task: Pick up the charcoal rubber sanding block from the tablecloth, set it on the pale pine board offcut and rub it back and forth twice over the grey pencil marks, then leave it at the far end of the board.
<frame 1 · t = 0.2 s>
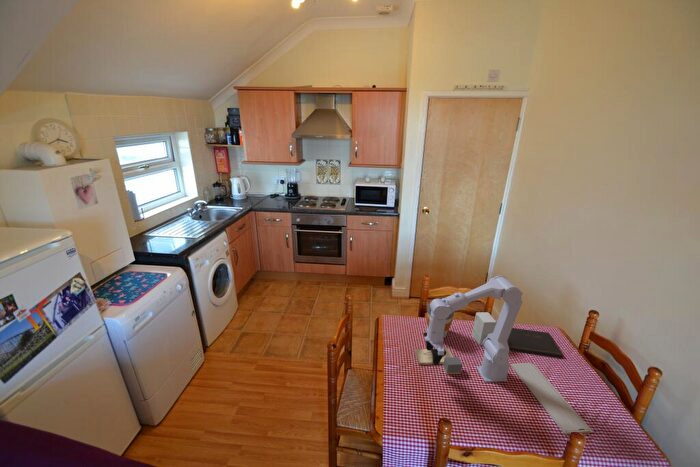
hand: (432, 356, 120), 10 cm above the table, tool pointing down, fingers open, 7 cm apart
small box: (481, 340, 145), on the table
baseboard molding: (547, 396, 116), on the table
reusable coffee cup: (436, 333, 149), on the table
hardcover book: (528, 343, 144), on the table
pine board: (434, 357, 133), on the table
sanding block: (451, 370, 127), on the table
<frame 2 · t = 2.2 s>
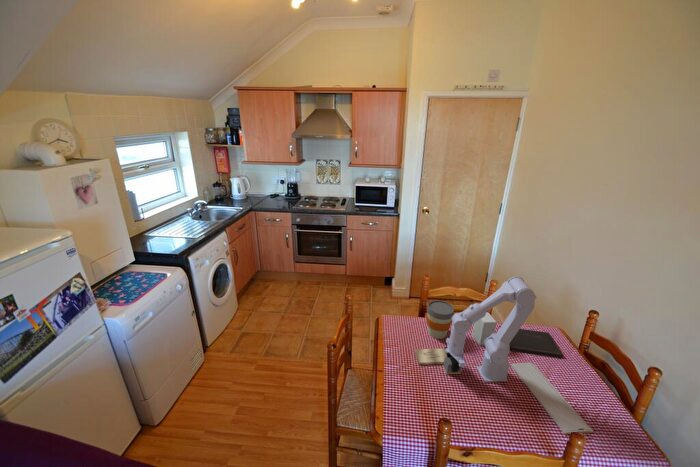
hand: (452, 367, 126), 1 cm above the table, tool pointing down, fingers closed on sanding block, 4 cm apart
sanding block: (451, 370, 127), on the table, touching gripper
everything else where it was.
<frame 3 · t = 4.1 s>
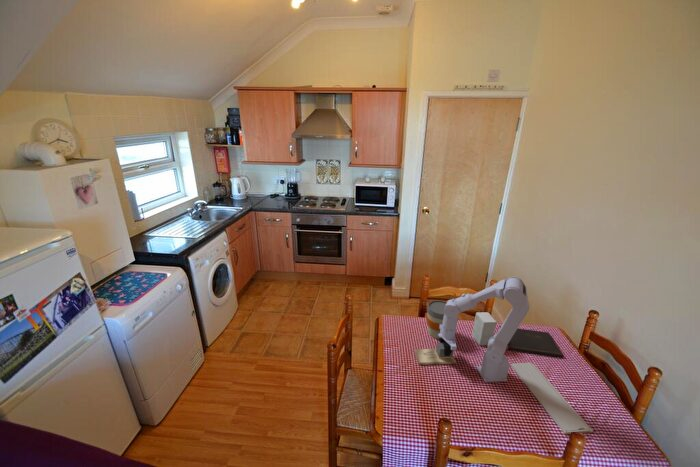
hand: (444, 351, 133), 3 cm above the table, tool pointing down, fingers closed on sanding block, 4 cm apart
sanding block: (443, 354, 133), point 1 cm above the table, touching gripper, pine board
everything else where it was.
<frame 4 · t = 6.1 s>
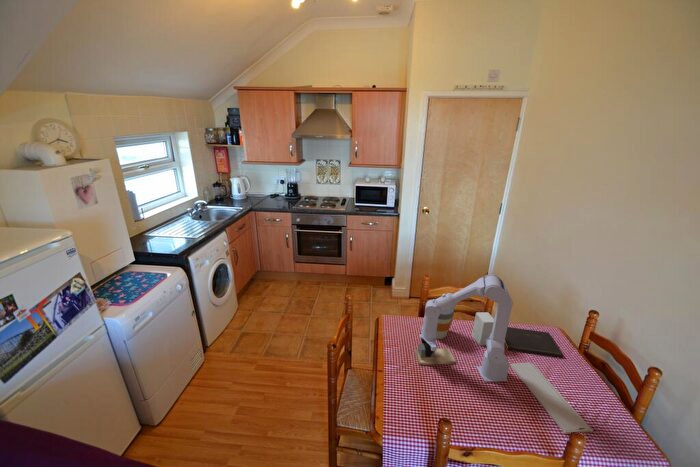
hand: (426, 352, 132), 3 cm above the table, tool pointing down, fingers closed on sanding block, 4 cm apart
sanding block: (425, 355, 133), point 1 cm above the table, touching gripper
everything else where it was.
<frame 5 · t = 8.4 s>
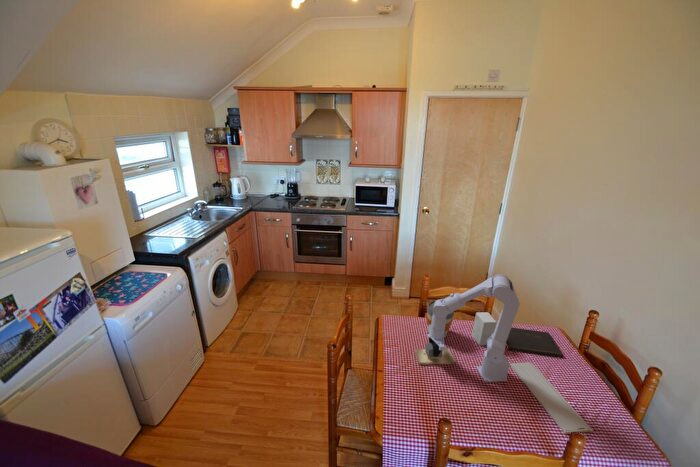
hand: (434, 352, 132), 3 cm above the table, tool pointing down, fingers closed on sanding block, 4 cm apart
sanding block: (433, 355, 133), point 1 cm above the table, touching gripper
everything else where it was.
when the fingers open (3 cm above the table, at t = 10.2 s): sanding block stays where it is, resting on pine board.
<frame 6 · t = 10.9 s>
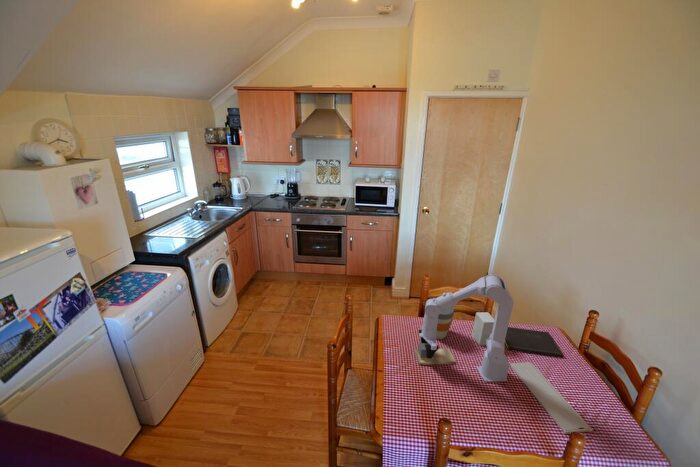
hand: (426, 351, 132), 3 cm above the table, tool pointing down, fingers open, 7 cm apart
sanding block: (425, 355, 133), point 1 cm above the table, touching pine board
everything else where it was.
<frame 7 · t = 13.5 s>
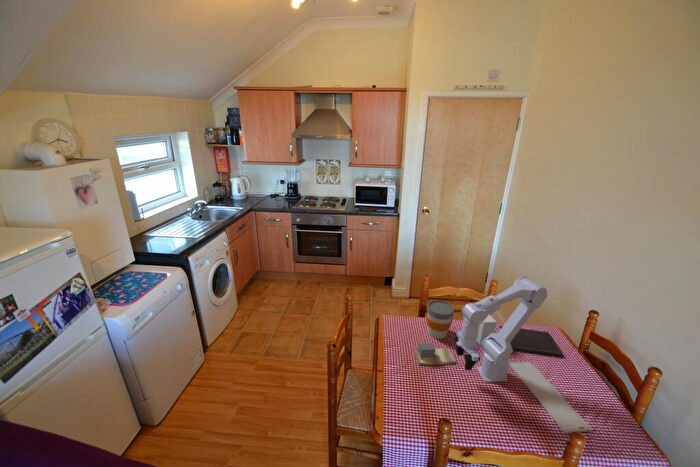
hand: (463, 362, 118), 10 cm above the table, tool pointing down, fingers open, 7 cm apart
nothing on the table moved.
at the end: sanding block inside the target area on the pine board (0.8 cm from its centre), point 1.2 cm above the pine board's base; sanding block tilted 0°; the gripper is holding nothing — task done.
